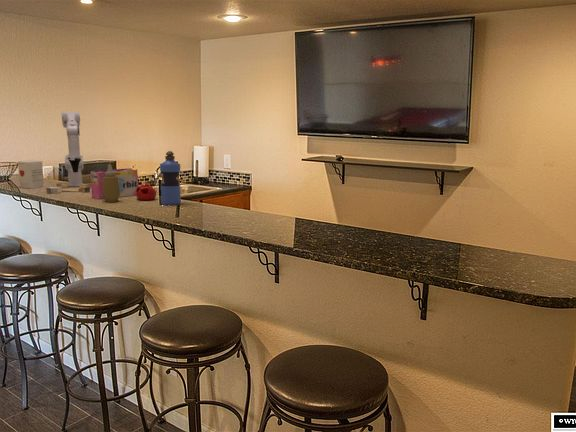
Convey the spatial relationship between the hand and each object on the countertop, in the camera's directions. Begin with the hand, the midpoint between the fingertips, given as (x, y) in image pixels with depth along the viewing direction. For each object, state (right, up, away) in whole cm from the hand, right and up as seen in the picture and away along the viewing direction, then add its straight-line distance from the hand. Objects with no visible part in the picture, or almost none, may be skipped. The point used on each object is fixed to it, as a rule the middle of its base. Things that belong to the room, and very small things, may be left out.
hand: (75, 172), depth 272 cm
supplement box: (-27, -8, +4) cm, 28 cm away
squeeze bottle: (+33, -18, -35) cm, 51 cm away
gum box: (+29, -14, -20) cm, 38 cm away
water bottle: (+63, -19, -38) cm, 76 cm away
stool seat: (0, -10, -3) cm, 11 cm away
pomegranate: (+48, -16, -28) cm, 57 cm away
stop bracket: (-3, -13, -16) cm, 20 cm away
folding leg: (-6, -12, -12) cm, 18 cm away
